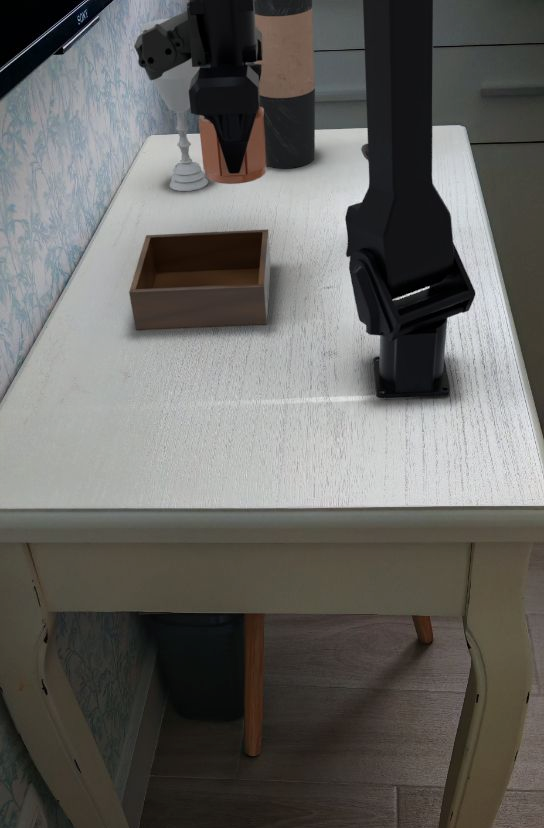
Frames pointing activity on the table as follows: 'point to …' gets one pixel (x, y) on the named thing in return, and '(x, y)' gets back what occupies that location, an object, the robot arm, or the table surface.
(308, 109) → the travel mug
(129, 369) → the table surface
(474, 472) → the table surface
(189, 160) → the chalice
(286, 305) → the table surface
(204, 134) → the bucket
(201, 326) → the wooden box
